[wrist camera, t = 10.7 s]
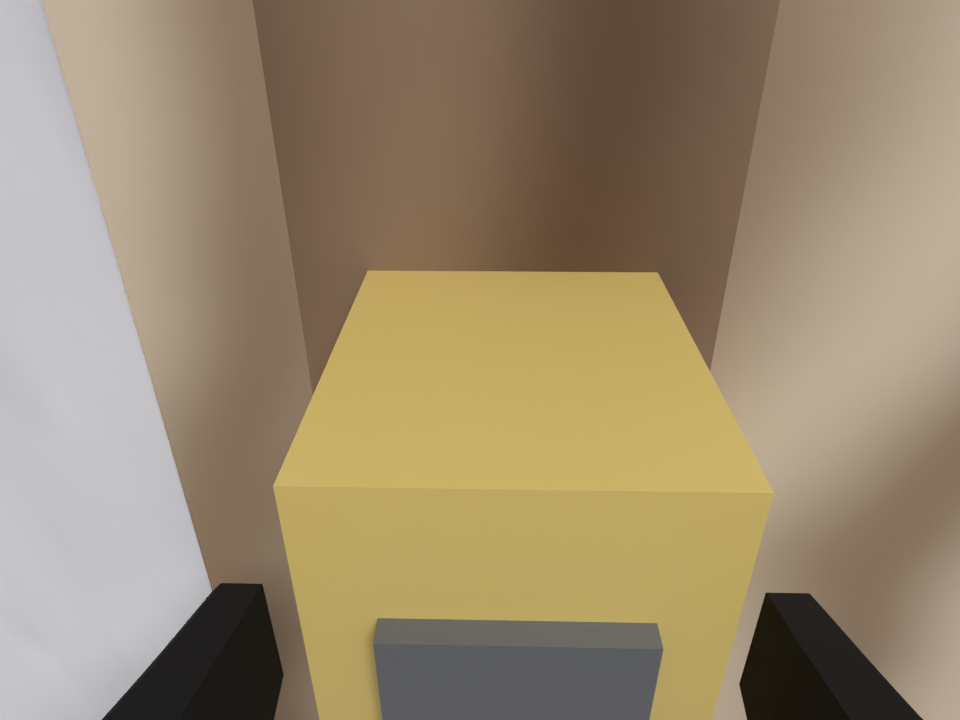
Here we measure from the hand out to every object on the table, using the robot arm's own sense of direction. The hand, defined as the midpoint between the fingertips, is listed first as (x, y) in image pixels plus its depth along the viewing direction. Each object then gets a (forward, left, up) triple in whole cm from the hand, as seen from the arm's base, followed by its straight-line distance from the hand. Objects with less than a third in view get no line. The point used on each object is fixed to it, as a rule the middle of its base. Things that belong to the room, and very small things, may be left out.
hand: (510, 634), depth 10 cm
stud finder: (0, 0, -3) cm, 3 cm away
